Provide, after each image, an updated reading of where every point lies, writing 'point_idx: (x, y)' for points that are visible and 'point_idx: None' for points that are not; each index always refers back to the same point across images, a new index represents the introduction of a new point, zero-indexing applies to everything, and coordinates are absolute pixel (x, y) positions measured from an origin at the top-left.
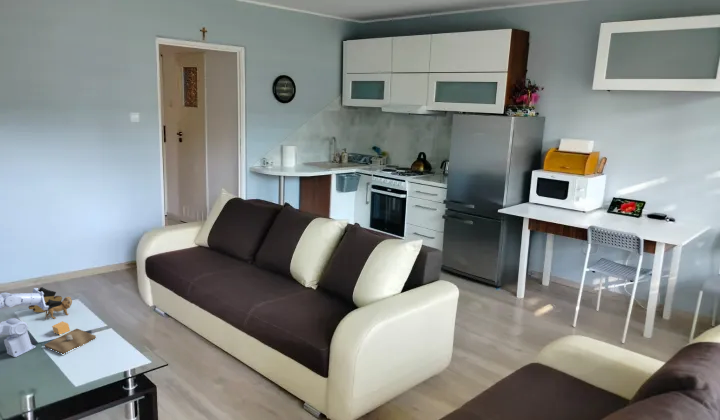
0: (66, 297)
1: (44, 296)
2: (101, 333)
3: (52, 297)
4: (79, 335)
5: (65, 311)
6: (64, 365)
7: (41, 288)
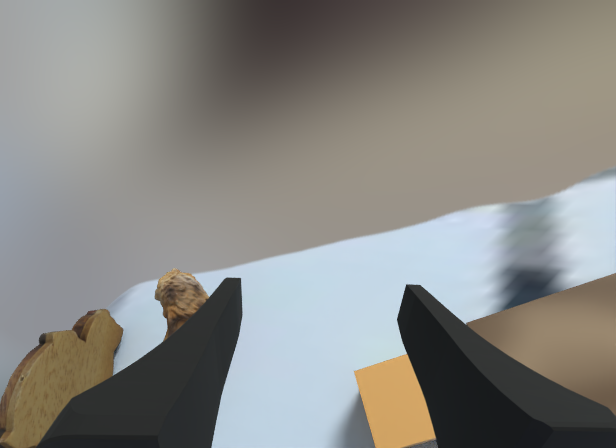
0: (164, 282)
1: (212, 428)
2: (602, 230)
3: (74, 343)
4: (609, 330)
5: None
6: None
7: (94, 444)
